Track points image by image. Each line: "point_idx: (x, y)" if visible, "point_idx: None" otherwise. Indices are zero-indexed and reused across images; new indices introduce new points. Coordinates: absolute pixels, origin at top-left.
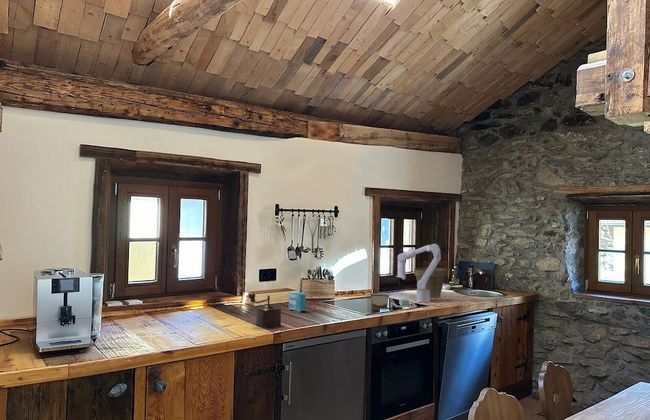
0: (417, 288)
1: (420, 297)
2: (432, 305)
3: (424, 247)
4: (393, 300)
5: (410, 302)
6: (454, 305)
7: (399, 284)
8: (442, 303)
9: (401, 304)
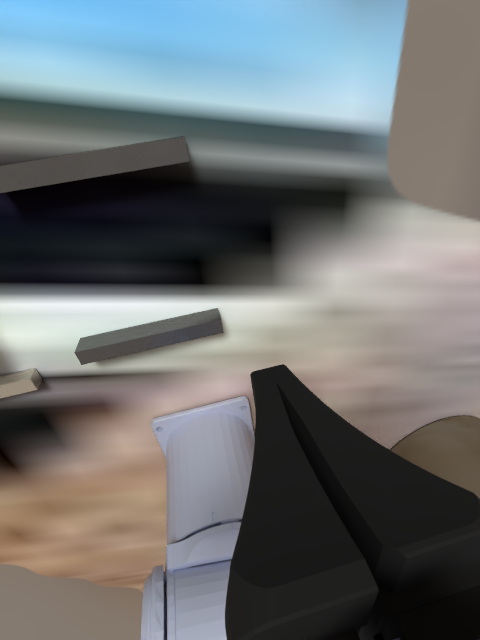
0: (221, 541)
1: (168, 471)
2: (33, 504)
3: None
4: (42, 180)
5: (29, 382)
6: (95, 572)
7: (296, 412)
8: (155, 528)
9: None
